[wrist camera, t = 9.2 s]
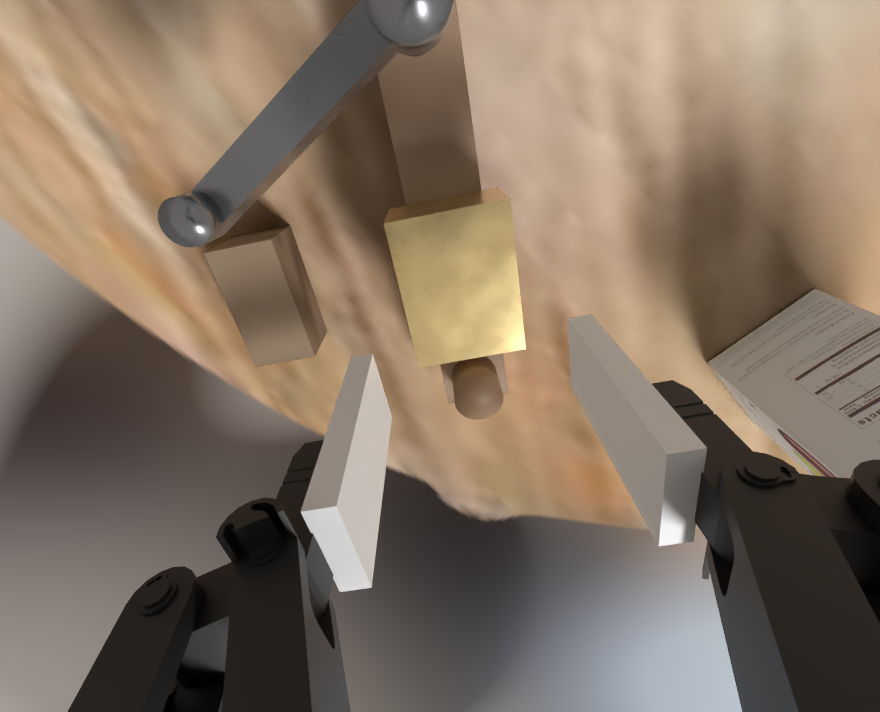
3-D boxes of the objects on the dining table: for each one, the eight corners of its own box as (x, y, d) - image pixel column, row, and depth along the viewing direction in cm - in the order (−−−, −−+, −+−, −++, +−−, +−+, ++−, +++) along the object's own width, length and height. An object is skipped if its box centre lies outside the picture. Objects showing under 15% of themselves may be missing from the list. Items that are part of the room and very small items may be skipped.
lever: (414, -72, 15) (410, -126, 12) (467, 13, 16) (477, -15, 13) (181, 194, 19) (131, 208, 15) (238, 247, 20) (201, 270, 17)
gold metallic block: (389, 208, 23) (383, 223, 20) (497, 186, 23) (510, 198, 20) (419, 336, 27) (419, 368, 24) (512, 319, 27) (525, 349, 23)
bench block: (230, 237, 29) (203, 253, 25) (290, 225, 29) (271, 239, 25) (274, 341, 33) (256, 367, 29) (327, 331, 32) (314, 356, 29)
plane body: (375, 34, 24) (349, -13, 16) (449, 17, 24) (461, -41, 15) (446, 367, 34) (452, 444, 26) (497, 358, 34) (520, 432, 26)
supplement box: (702, 361, 35) (908, 538, 20) (814, 284, 32) (1155, 423, 17) (755, 426, 38) (964, 619, 23) (860, 361, 35) (1178, 535, 20)
